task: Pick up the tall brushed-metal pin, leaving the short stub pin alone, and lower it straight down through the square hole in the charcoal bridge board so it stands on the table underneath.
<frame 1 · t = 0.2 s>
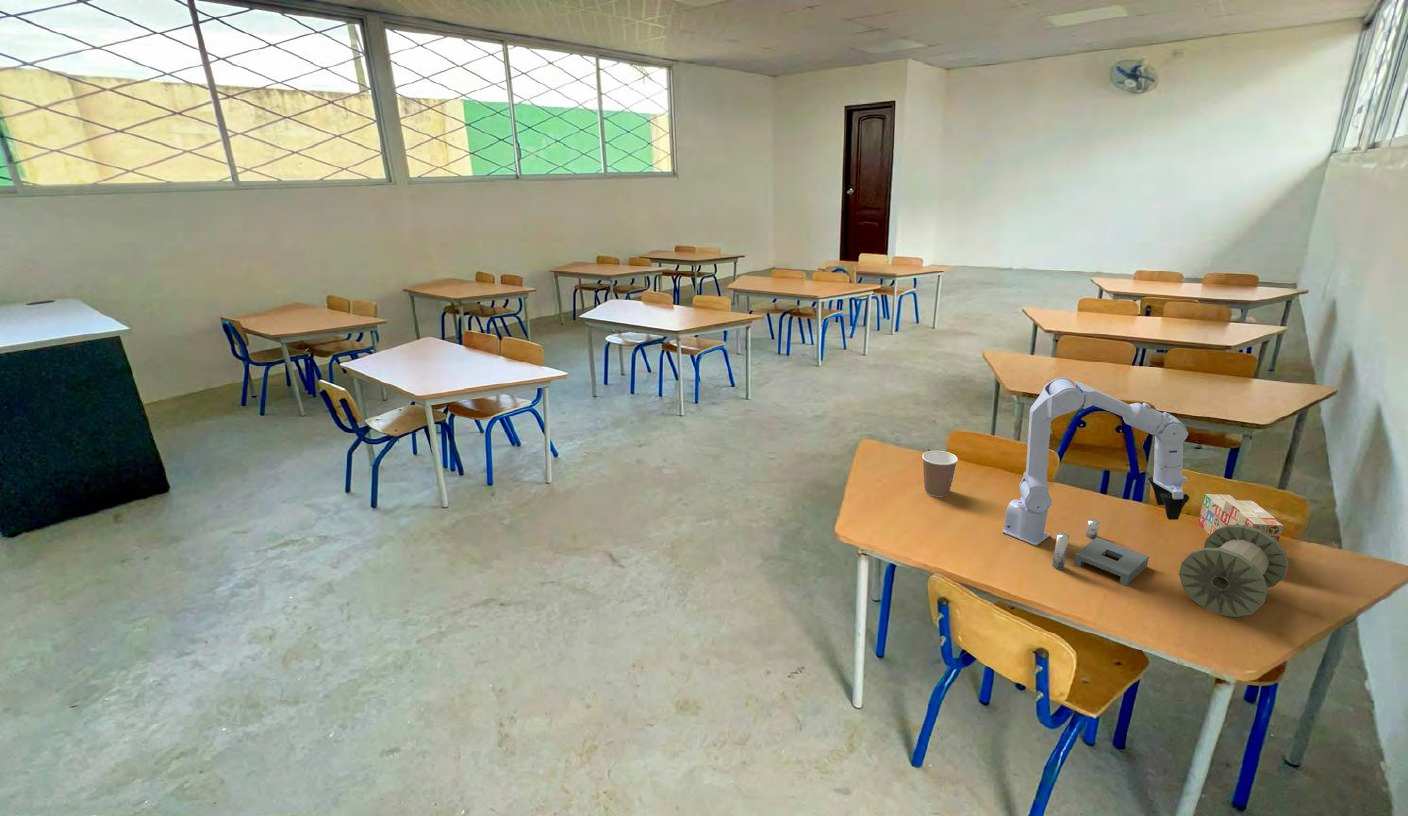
hand: (1167, 511, 163), 11 cm above the table, tool pointing down, fingers open, 7 cm apart
spool: (1225, 597, 147), on the table
long pin: (1057, 566, 160), on the table
coffee cup: (936, 492, 200), on the table
bridge board: (1109, 565, 160), on the table
stack of blocks: (1231, 545, 167), on the table
short pin: (1091, 536, 173), on the table
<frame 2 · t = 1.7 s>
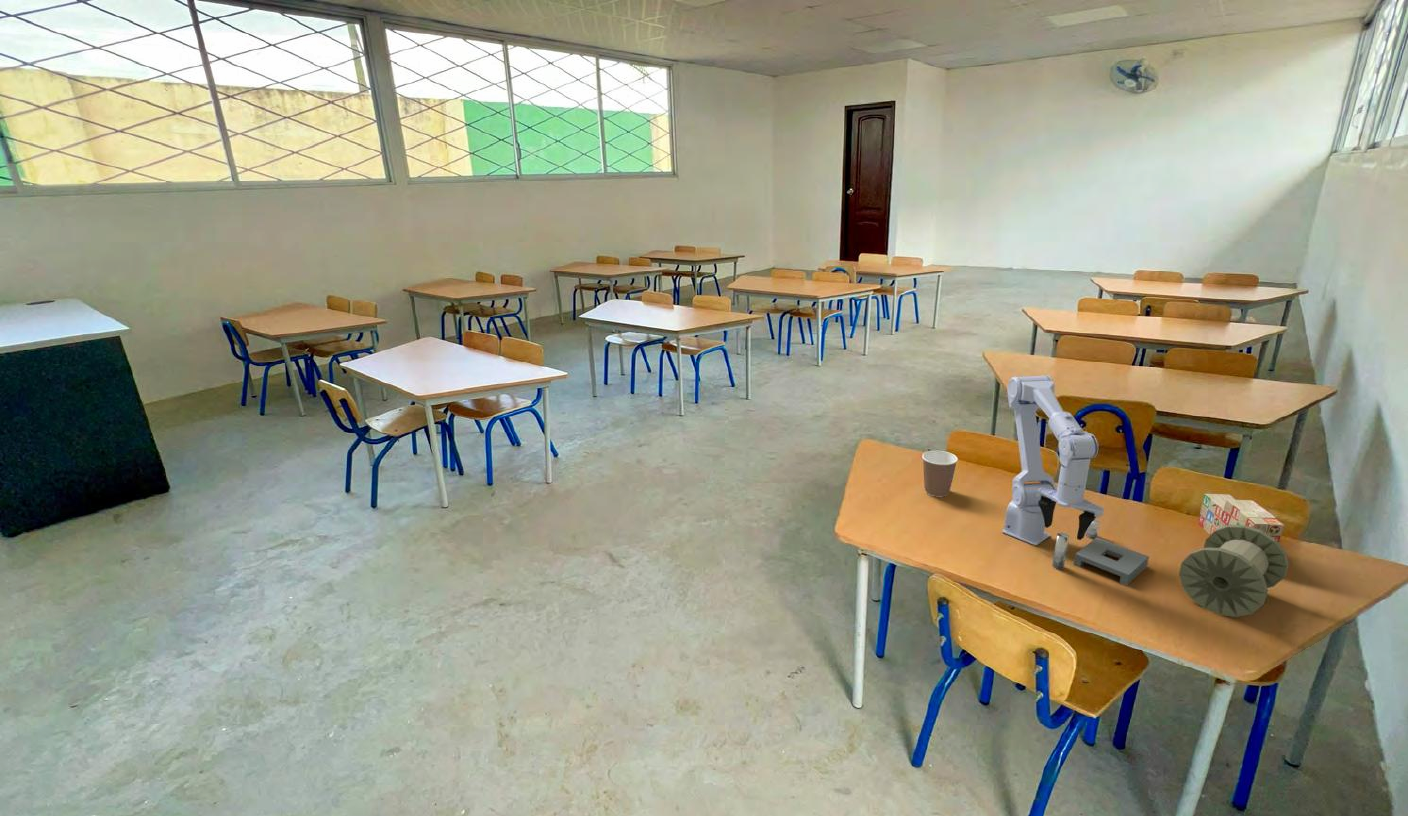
hand: (1063, 532, 157), 10 cm above the table, tool pointing down, fingers open, 7 cm apart
nothing on the table moved.
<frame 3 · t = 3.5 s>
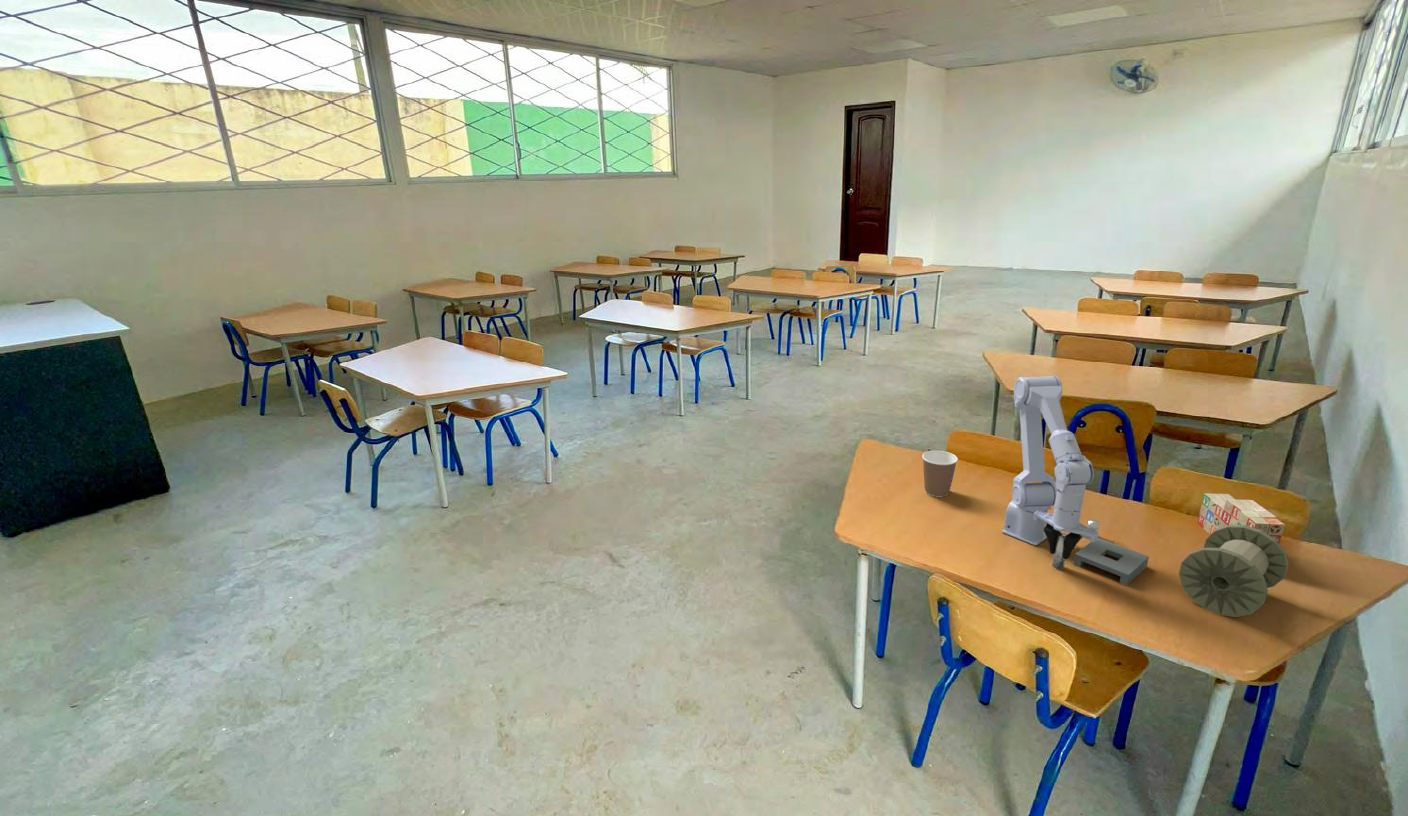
hand: (1059, 555, 159), 3 cm above the table, tool pointing down, fingers closed on long pin, 3 cm apart
long pin: (1057, 566, 160), on the table, touching gripper
everything else where it was.
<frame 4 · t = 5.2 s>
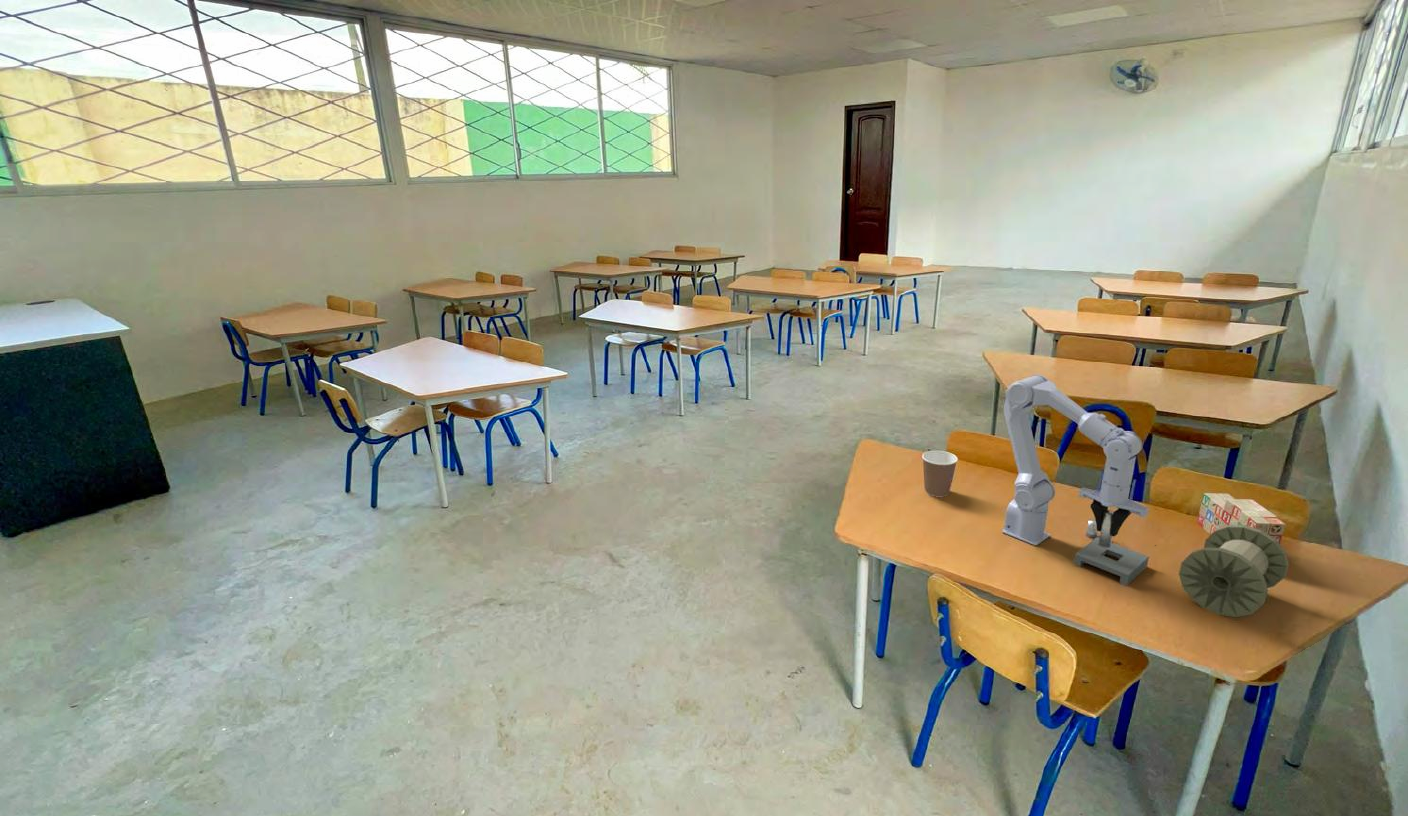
hand: (1107, 532, 157), 10 cm above the table, tool pointing down, fingers closed on long pin, 3 cm apart
long pin: (1104, 544, 158), point 6 cm above the table, touching gripper
everything else where it was.
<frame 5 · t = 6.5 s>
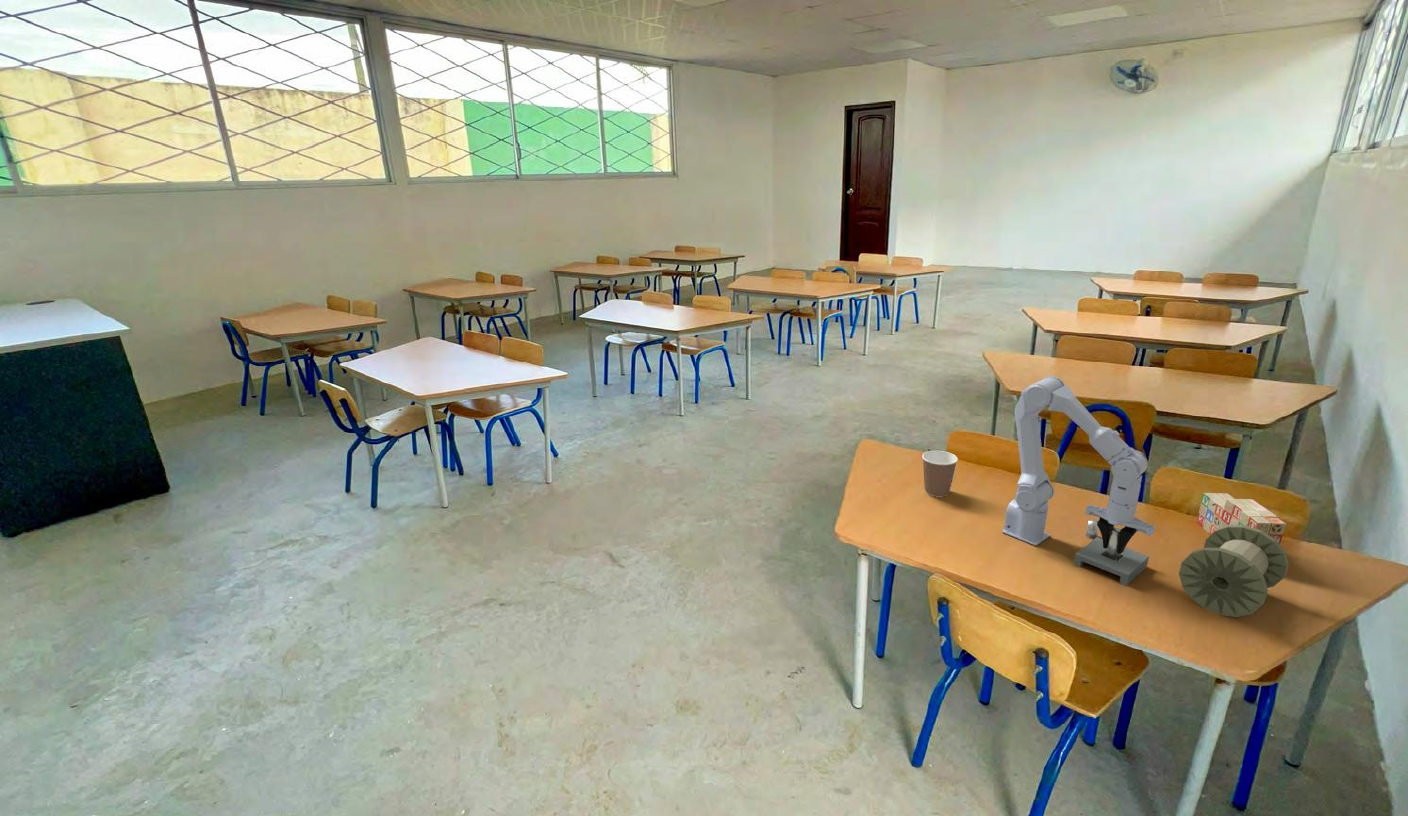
hand: (1113, 549, 158), 5 cm above the table, tool pointing down, fingers closed on long pin, 3 cm apart
long pin: (1110, 561, 159), point 1 cm above the table, touching gripper
everything else where it was.
when the fingers open (4 cm above the table, at t = 7.3 s): long pin stays where it is, on the table.
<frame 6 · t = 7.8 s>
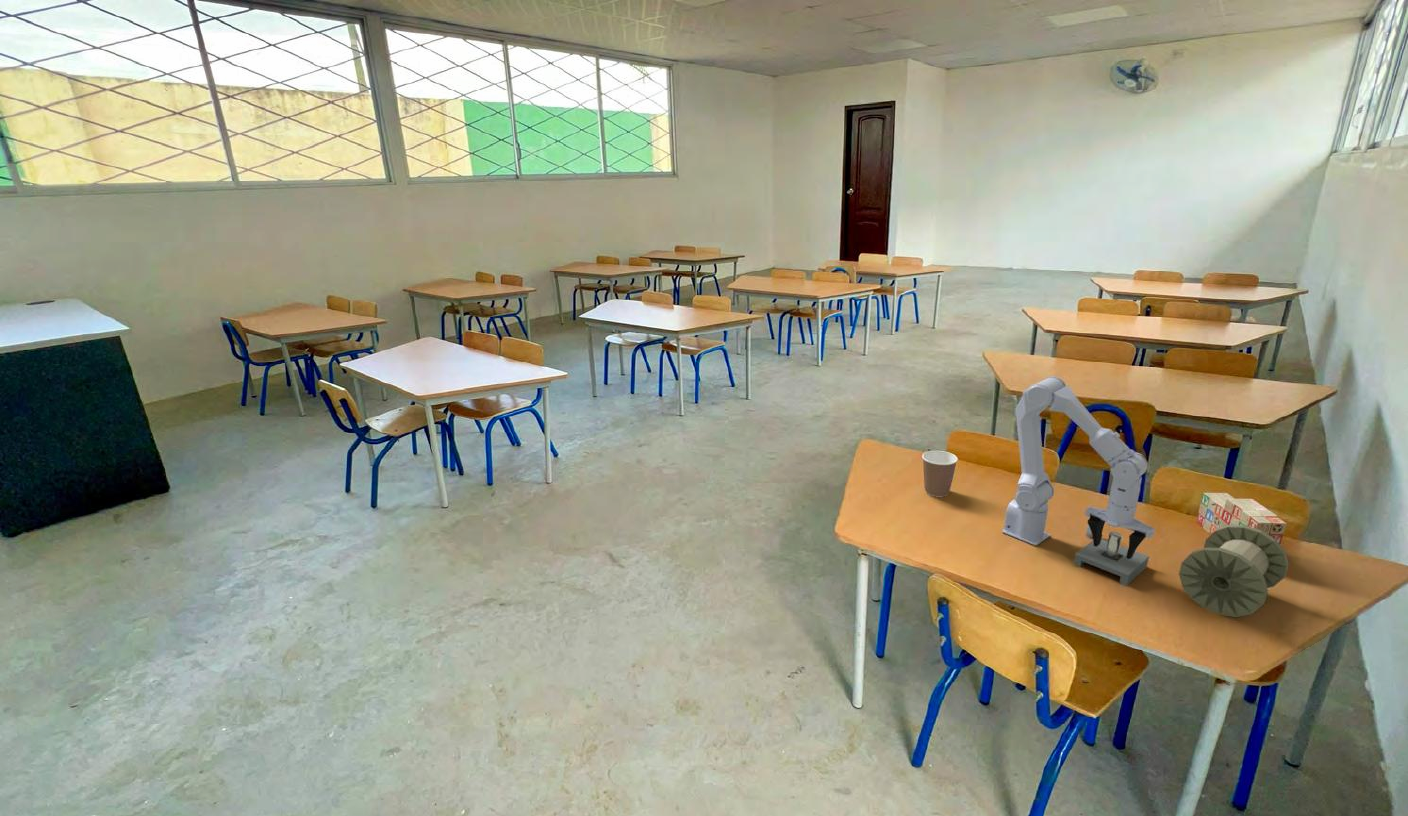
hand: (1112, 551, 159), 4 cm above the table, tool pointing down, fingers open, 7 cm apart
long pin: (1109, 565, 160), on the table
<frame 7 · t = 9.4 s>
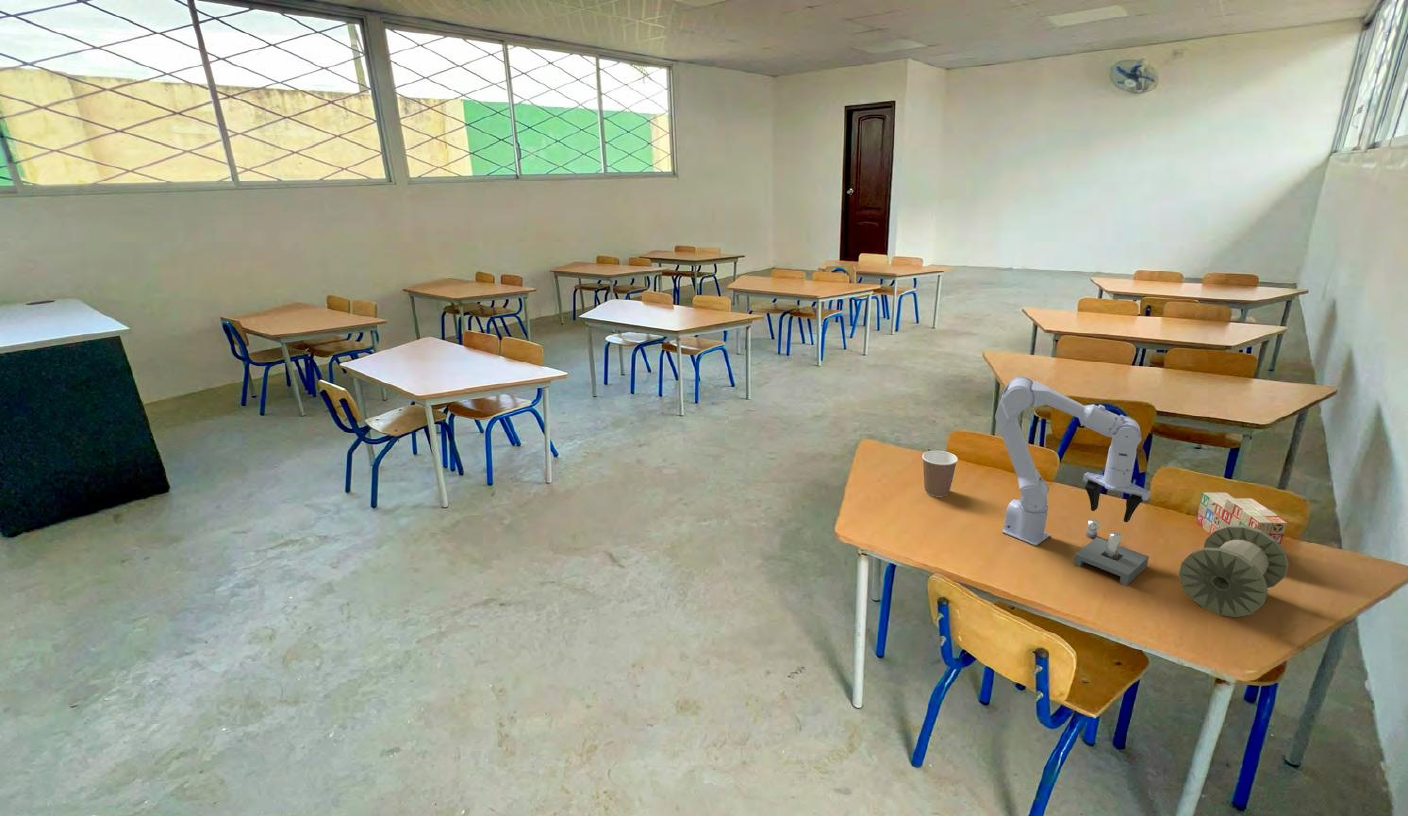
hand: (1110, 515, 163), 10 cm above the table, tool pointing down, fingers open, 7 cm apart
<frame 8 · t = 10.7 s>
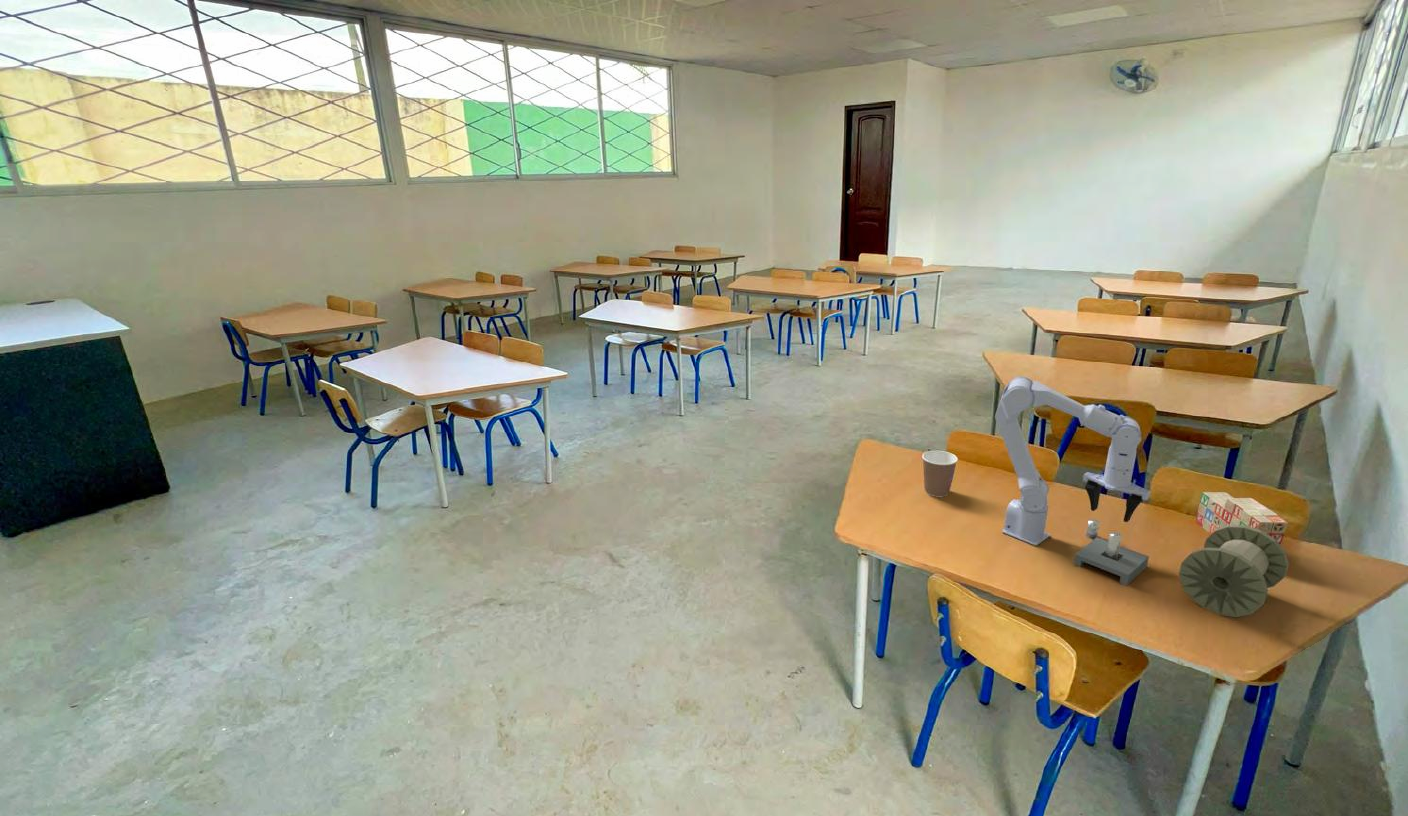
hand: (1110, 514, 163), 10 cm above the table, tool pointing down, fingers open, 7 cm apart
at the end: long pin 0.2 cm off-centre on the bridge board, point 0.0 cm above the bridge board's base; long pin tilted 0°; short pin moved 0.0 cm from its start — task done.
